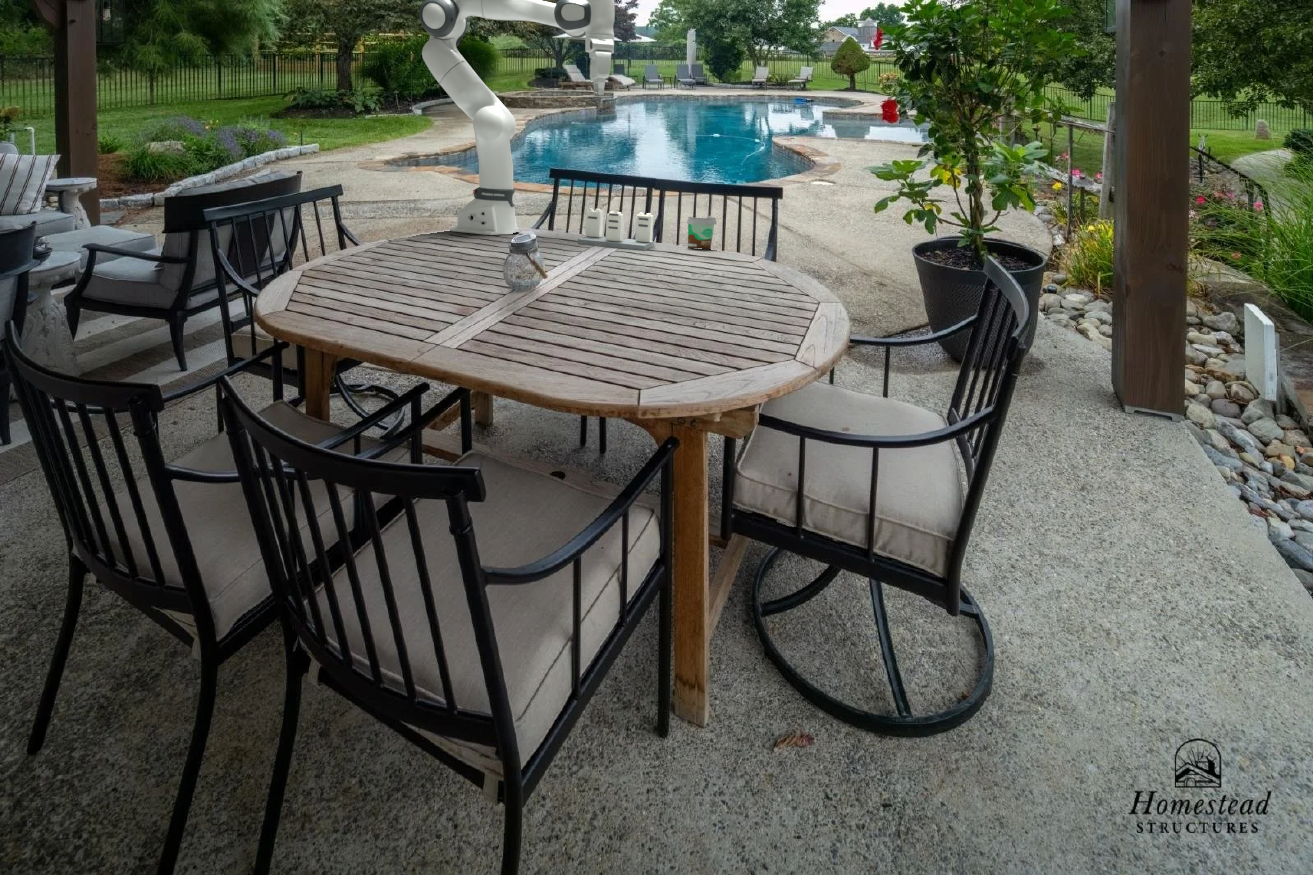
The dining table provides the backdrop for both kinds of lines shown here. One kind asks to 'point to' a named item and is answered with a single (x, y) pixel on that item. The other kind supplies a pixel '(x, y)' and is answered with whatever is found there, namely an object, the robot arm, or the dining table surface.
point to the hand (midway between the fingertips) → (598, 95)
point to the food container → (700, 232)
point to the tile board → (616, 243)
